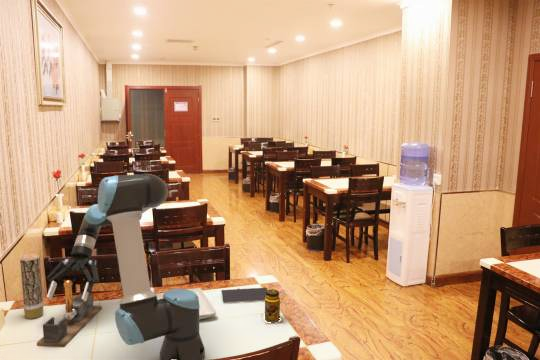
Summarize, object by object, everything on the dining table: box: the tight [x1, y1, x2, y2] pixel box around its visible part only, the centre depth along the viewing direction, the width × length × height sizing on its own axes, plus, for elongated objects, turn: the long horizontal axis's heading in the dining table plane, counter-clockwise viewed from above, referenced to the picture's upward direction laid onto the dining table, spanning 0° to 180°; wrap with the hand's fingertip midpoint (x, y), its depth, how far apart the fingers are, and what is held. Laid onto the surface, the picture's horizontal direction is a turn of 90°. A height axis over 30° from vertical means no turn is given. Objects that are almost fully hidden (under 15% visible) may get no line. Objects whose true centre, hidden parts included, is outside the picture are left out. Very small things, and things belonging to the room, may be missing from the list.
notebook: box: [221, 287, 269, 304], centre depth 201 cm, size 13×2×21 cm
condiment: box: [261, 289, 284, 324], centre depth 180 cm, size 7×8×12 cm
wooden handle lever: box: [63, 279, 77, 321], centre depth 176 cm, size 18×3×16 cm, turn 176°
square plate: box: [155, 287, 217, 320], centre depth 186 cm, size 27×27×4 cm
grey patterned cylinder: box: [19, 253, 44, 320], centre depth 178 cm, size 7×7×25 cm
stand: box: [36, 292, 103, 348], centre depth 172 cm, size 30×10×8 cm, turn 176°
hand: (66, 299), depth 168 cm, fingers open, 13 cm apart
